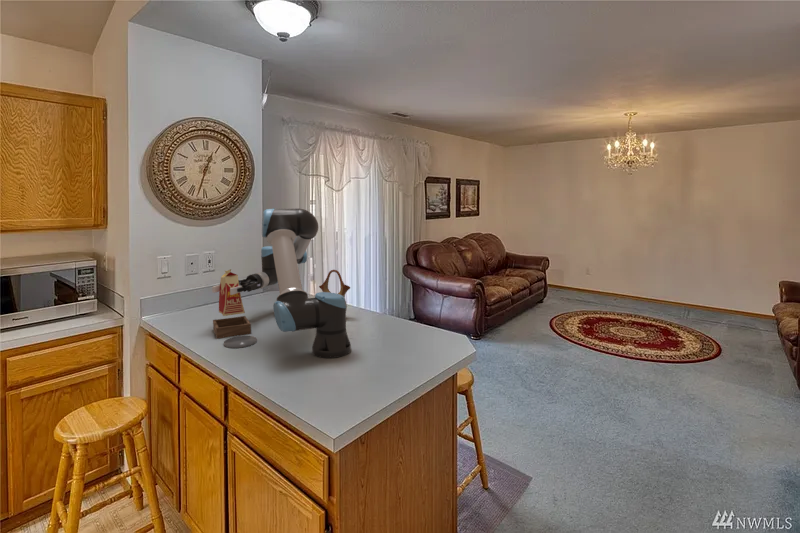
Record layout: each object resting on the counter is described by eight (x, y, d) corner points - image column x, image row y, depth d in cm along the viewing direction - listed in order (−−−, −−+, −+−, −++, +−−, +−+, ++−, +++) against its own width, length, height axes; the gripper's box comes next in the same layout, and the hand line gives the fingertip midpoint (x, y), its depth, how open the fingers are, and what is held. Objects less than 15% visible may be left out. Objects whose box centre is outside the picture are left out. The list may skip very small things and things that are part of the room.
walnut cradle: (251, 333, 186) (250, 323, 185) (217, 338, 179) (216, 328, 179) (245, 325, 198) (245, 315, 197) (213, 329, 191) (212, 320, 191)
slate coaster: (259, 344, 172) (259, 343, 172) (226, 350, 166) (226, 348, 166) (253, 335, 183) (253, 333, 183) (221, 340, 177) (221, 338, 177)
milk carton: (245, 313, 187) (242, 269, 183) (223, 316, 181) (220, 271, 178) (239, 308, 194) (236, 266, 191) (218, 311, 189) (215, 268, 185)
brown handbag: (353, 317, 212) (353, 268, 208) (347, 322, 203) (346, 271, 199) (323, 315, 216) (322, 267, 211) (316, 320, 207) (314, 270, 203)
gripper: (276, 290, 198) (242, 301, 178) (239, 286, 206) (203, 296, 186) (275, 275, 197) (241, 284, 177) (238, 271, 205) (201, 280, 185)
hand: (221, 290), depth 181 cm, fingers closed on milk carton, 9 cm apart
